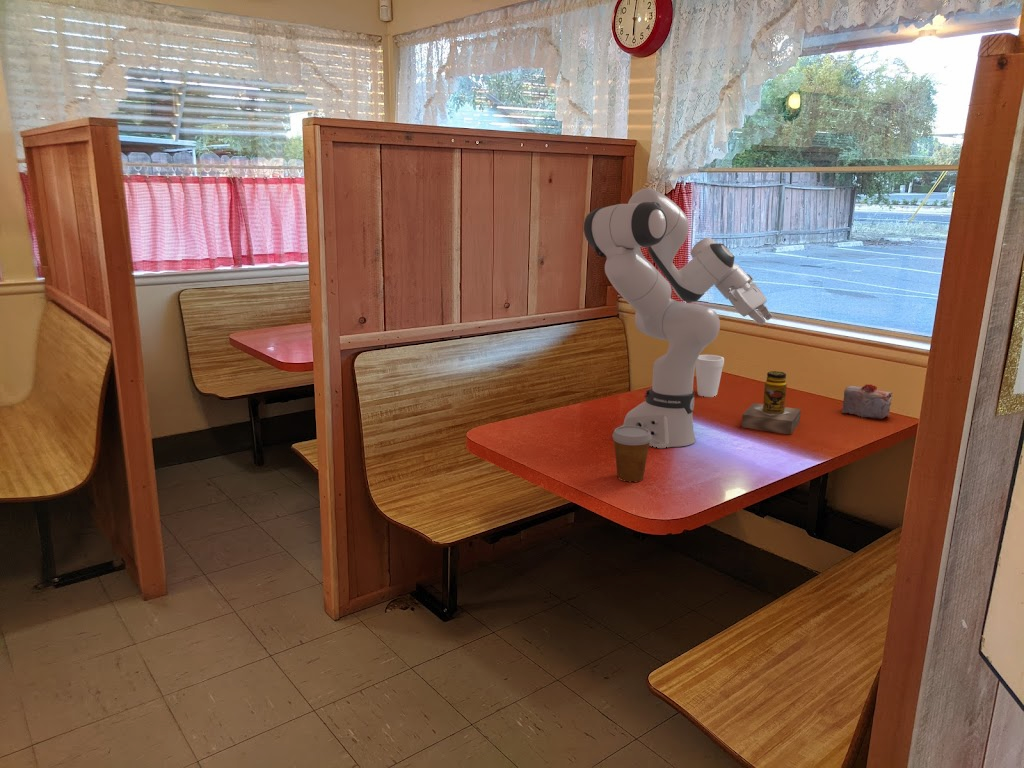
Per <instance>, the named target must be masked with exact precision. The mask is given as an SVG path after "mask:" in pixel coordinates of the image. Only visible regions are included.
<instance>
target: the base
mask: <svg viewBox="0 0 1024 768" xmlns="http://www.w3.org/2000/svg"><path fill="white" fill-rule="evenodd" d="M758 407H763V403H759V402H758V403H756V402H753V403H752V404H751V405H750V406H749V407H747V409H746V410H745V411H744V412H743V413H742V417H741V419H742V420H741V428H744V429H751V430H756V431H757V430H758V431H764V432H770V433H776V434H785V435H790V436H791V435H792V434H793V433H794V431H795V429H796V428H797V427H798V426H799V424H800V422H801V412H802V409H801V408H793V407H787V406H785V409H784V410H785V411H787V412H790V413H788V414H782V415H768V414H765V413H763V412H761V411H759V410H757V409H755V408H758Z"/></svg>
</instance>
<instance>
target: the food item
mask: <svg viewBox="0 0 1024 768" xmlns="http://www.w3.org/2000/svg"><path fill="white" fill-rule="evenodd" d="M893 396H894V395H893V392H892V391H884V390H878V387H877V386H876V385H873V384H867V383H866V384H864V385H863V386H857V385H856V386H855V385H848V386H846V388H845V389H844V391H843V401H842V410H841V413H842V414H847V413H849V414H848V415H852V414H855V415H854V416H858V417H860V416H861V417H860V418H871V419H876V418H877V419H878V420H882V419H884V418H886V417H888V416H890V410H891V406H892V405H891V404H892V399H893Z"/></svg>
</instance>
